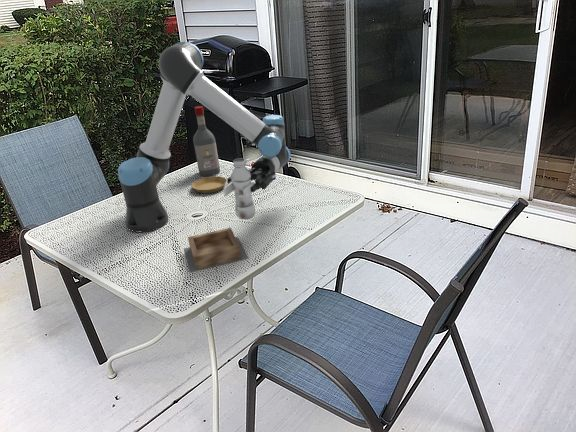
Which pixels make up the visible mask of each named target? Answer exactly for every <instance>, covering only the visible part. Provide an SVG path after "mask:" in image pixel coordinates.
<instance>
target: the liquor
mask: <svg viewBox="0 0 576 432" xmlns="http://www.w3.org/2000/svg"><path fill="white" fill-rule="evenodd" d="M204 110H205V109H204V105H199V106H195V107H194V113H195V115H196V121H197V130H196V132H195V134H194V135H193V137H192V142H193V146H194V151H195V152H194V153H195V157H196V164H197V169H198V173H199V175H200V176H201V177H212V176H217V175H218V174H220V172H221V168H220V161H219V155H218V148H217V143H216V137H215V136H214V135H215V134H213V133H212V132H211V131H210V130H209V129H208V128H207V126H206V120H205V115H204V114H205V112H204Z"/></svg>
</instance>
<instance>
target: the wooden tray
mask: <svg viewBox="0 0 576 432" xmlns="http://www.w3.org/2000/svg"><path fill="white" fill-rule="evenodd" d="M235 237H236V236H235V233H234V231H233V230H232V228H231V227H227V228H224V229H218V230H213V231H210V232H209V231H208V232H204V233H200V234H196V235H191V236H188V237H187V239H188V240H187V241H188V244H189V245H188V246H189V247H190V250H191V253H192V257H193V260H194V264H195V267H196V269H200V268H204V267H208V266H212V265H217V264H221V263H225V262H229V261H234V260H238V259H242V257H241V250H240V246H239V244H238V242H237V240H236V238H235Z"/></svg>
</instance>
